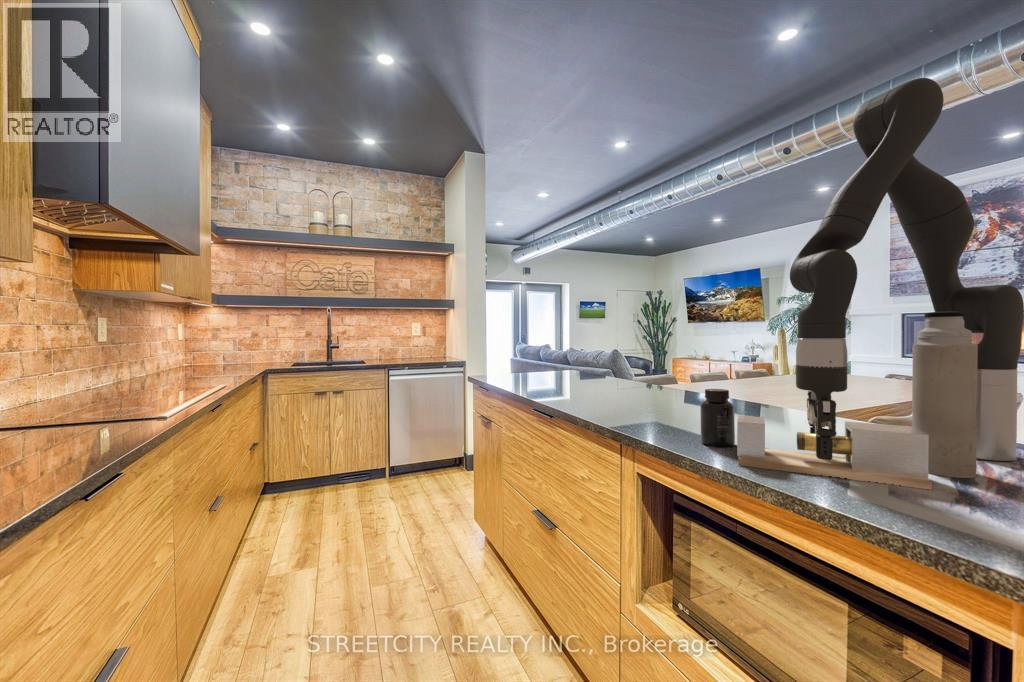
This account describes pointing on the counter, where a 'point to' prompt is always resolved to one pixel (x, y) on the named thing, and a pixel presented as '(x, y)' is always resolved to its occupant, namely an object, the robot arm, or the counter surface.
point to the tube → (838, 443)
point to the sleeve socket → (856, 446)
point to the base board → (827, 468)
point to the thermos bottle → (946, 393)
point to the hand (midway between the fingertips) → (820, 452)
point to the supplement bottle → (717, 419)
